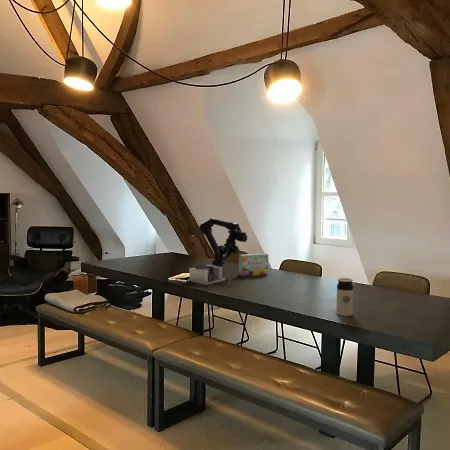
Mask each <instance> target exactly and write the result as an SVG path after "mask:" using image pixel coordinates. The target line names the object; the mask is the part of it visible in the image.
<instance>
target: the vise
mask: <svg viewBox="0 0 450 450" xmlns="http://www.w3.org/2000/svg"><path fill="white" fill-rule="evenodd" d="M188 272H189V277H188V278H187V281H188V280H189V281H191V282H190V283H195V284H200V285H210V284H211V285H212V284H215V283H216V284H217V283H221V282H225V281H226V278H225V277H222V279H218V280H214V279H213V281H209V282H208V270H204V269H198V268H196V267H189V269H188ZM189 281H188V282H189Z"/></svg>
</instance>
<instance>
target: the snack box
mask: <svg viewBox="0 0 450 450" xmlns="http://www.w3.org/2000/svg"><path fill="white" fill-rule="evenodd" d="M263 274H266V275H268V274H269V254H268V253H266V252H264V253H250V254H249V253H246V254H245V253H243V254H238V275H239V276H240V277H250V276H252V277H253V276H264V275H263Z"/></svg>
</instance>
